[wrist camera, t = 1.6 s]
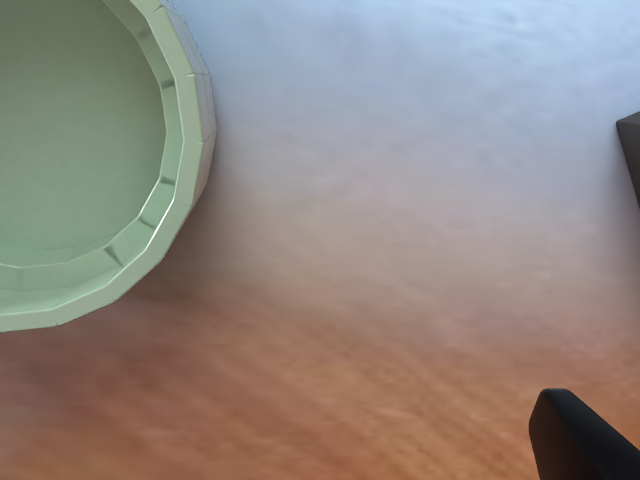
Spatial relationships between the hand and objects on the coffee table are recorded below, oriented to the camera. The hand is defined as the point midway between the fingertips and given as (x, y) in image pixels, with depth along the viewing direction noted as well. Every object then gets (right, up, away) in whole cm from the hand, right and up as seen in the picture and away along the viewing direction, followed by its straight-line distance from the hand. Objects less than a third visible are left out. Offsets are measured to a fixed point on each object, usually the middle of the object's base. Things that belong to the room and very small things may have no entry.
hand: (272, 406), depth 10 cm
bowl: (-9, +7, +12) cm, 17 cm away
